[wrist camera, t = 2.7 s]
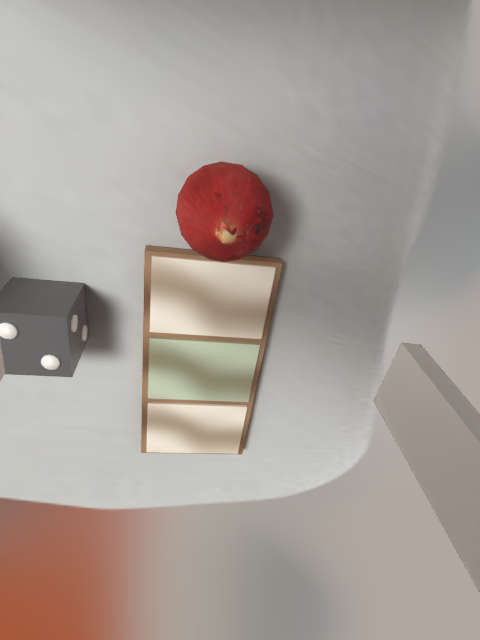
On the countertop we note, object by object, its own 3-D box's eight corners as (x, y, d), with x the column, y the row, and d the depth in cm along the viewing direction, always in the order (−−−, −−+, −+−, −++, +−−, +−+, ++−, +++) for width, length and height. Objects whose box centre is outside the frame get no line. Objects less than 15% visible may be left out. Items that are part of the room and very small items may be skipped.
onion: (271, 162, 26) (298, 192, 19) (252, 243, 29) (270, 293, 22) (184, 144, 25) (180, 168, 18) (174, 230, 28) (166, 279, 21)
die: (13, 276, 29) (-20, 312, 24) (86, 282, 29) (68, 318, 25) (22, 333, 31) (-5, 374, 27) (90, 337, 32) (73, 378, 28)
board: (146, 245, 28) (144, 251, 27) (280, 258, 30) (283, 264, 29) (142, 444, 39) (140, 454, 38) (241, 446, 40) (242, 455, 39)
